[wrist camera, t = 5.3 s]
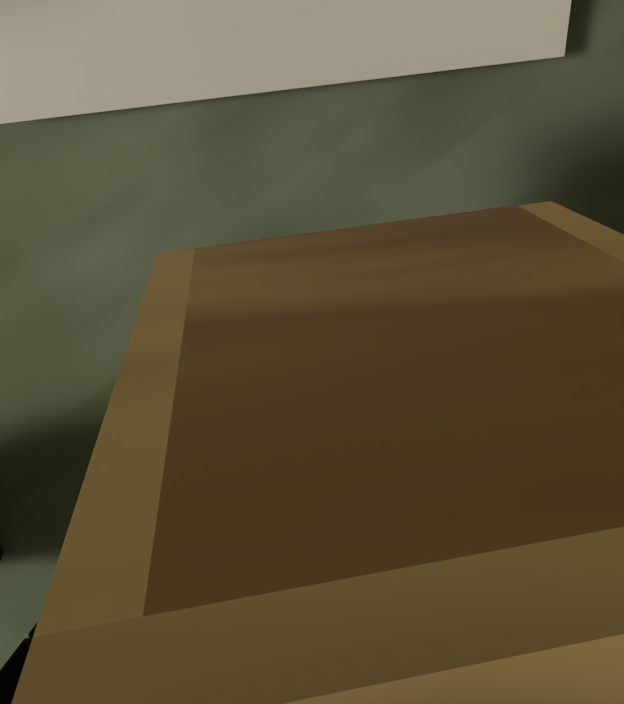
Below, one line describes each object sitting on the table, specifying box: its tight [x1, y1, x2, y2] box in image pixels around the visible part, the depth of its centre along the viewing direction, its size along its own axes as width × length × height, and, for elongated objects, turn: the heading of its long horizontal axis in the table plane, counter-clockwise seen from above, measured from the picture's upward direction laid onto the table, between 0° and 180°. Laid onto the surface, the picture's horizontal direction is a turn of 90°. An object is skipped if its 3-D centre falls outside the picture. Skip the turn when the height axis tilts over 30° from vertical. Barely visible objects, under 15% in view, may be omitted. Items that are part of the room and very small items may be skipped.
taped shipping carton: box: [11, 201, 624, 704], centre depth 7 cm, size 7×7×7 cm
